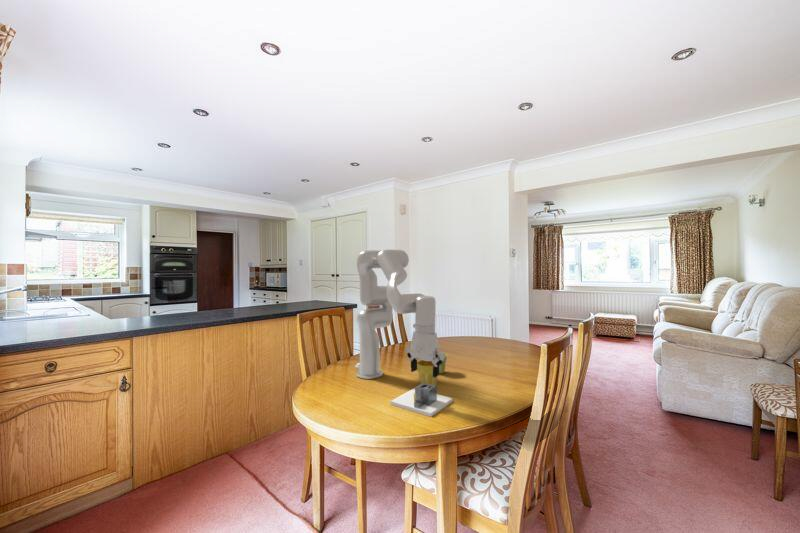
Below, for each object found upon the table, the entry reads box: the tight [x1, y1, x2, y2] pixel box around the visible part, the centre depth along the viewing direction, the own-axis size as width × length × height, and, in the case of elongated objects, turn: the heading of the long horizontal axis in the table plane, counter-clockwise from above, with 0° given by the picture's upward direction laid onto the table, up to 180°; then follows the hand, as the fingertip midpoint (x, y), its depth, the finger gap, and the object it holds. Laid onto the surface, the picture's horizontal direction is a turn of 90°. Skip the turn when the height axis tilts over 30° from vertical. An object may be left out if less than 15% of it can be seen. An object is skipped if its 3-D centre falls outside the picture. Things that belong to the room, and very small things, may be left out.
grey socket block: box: [414, 383, 438, 408], centre depth 124 cm, size 10×6×6 cm, turn 146°
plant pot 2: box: [438, 352, 449, 375], centre depth 163 cm, size 9×9×9 cm
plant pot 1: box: [416, 359, 440, 386], centre depth 146 cm, size 10×10×10 cm
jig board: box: [389, 388, 454, 418], centre depth 127 cm, size 18×16×1 cm
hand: (424, 373), depth 127 cm, fingers open, 9 cm apart
